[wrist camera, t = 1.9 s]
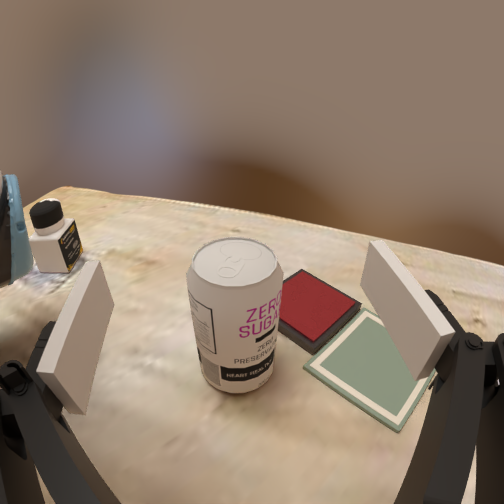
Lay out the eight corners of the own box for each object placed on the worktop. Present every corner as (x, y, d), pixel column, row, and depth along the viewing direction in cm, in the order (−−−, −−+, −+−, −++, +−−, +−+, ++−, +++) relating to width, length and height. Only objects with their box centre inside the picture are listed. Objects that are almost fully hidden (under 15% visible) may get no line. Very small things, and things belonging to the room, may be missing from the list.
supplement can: (216, 332, 38) (208, 227, 30) (281, 348, 36) (294, 242, 28) (189, 382, 31) (165, 277, 23) (261, 405, 29) (270, 302, 21)
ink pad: (249, 309, 42) (249, 300, 41) (300, 275, 48) (302, 267, 47) (312, 355, 35) (314, 347, 34) (359, 309, 41) (362, 302, 41)
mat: (302, 368, 33) (303, 365, 33) (363, 310, 41) (364, 307, 41) (397, 433, 25) (399, 430, 25) (442, 357, 33) (444, 354, 33)
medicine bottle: (69, 273, 47) (49, 211, 40) (39, 273, 46) (18, 214, 39) (84, 250, 52) (68, 192, 46) (54, 251, 52) (38, 196, 45)
